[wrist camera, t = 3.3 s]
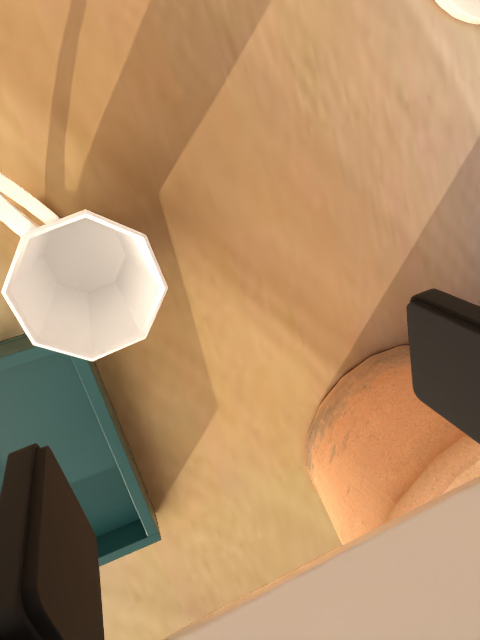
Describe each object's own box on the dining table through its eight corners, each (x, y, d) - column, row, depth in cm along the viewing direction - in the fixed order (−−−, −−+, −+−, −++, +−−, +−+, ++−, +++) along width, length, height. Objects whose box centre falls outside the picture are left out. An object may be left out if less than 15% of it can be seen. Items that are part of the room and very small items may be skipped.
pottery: (508, 298, 40) (708, 373, 27) (465, 495, 48) (603, 622, 36) (278, 333, 34) (399, 452, 21) (274, 552, 42) (360, 731, 30)
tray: (-166, 393, 26) (-189, 418, 24) (76, 317, 29) (76, 333, 26) (-25, 589, 33) (-32, 623, 31) (156, 514, 36) (161, 540, 34)
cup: (88, 327, 29) (93, 389, 22) (-58, 210, 24) (-111, 242, 17) (168, 250, 29) (199, 287, 22) (37, 117, 24) (22, 110, 17)
